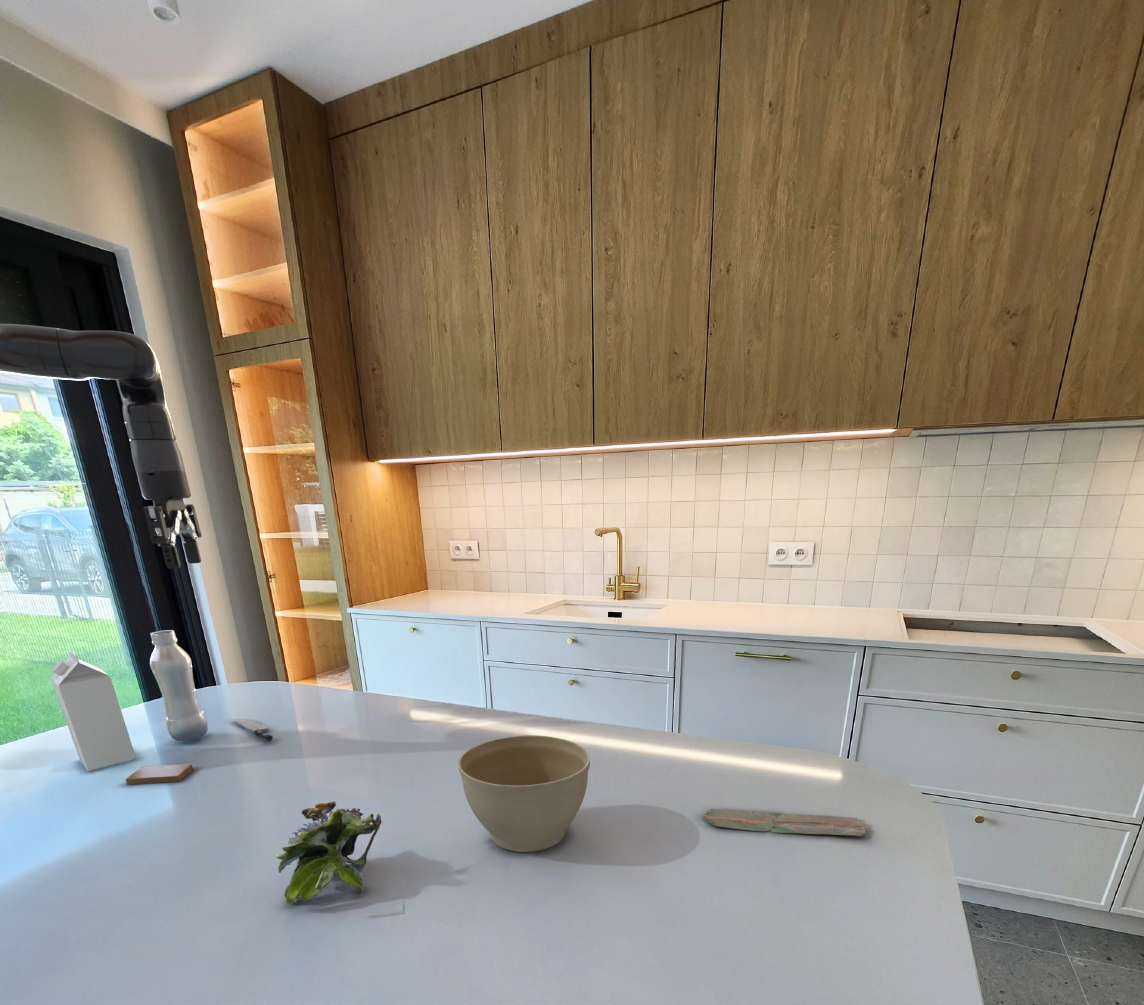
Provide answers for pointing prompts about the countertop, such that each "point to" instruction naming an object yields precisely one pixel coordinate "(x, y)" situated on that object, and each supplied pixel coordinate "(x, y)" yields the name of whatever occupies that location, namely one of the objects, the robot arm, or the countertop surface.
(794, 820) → the map
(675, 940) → the countertop surface
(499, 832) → the planter bowl
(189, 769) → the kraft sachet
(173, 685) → the plastic bottle
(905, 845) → the countertop surface
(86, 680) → the milk carton
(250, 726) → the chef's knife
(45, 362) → the robot arm
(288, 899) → the passion flower
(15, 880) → the countertop surface
